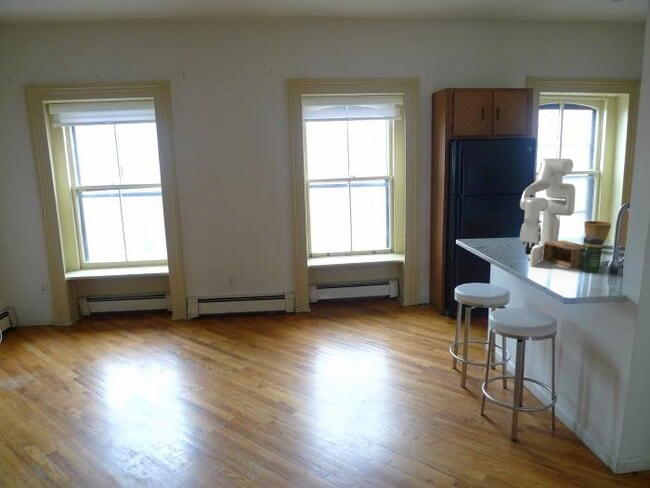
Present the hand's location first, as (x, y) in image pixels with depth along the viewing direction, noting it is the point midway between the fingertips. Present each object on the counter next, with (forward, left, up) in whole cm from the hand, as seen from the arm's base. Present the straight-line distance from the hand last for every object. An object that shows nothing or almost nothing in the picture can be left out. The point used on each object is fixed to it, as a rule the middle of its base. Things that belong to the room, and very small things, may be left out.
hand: (528, 254), depth 243 cm
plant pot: (-73, -21, -6) cm, 76 cm away
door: (-6, -1, -5) cm, 8 cm away
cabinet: (-22, +5, -6) cm, 23 cm away
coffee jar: (-21, +21, -6) cm, 31 cm away
